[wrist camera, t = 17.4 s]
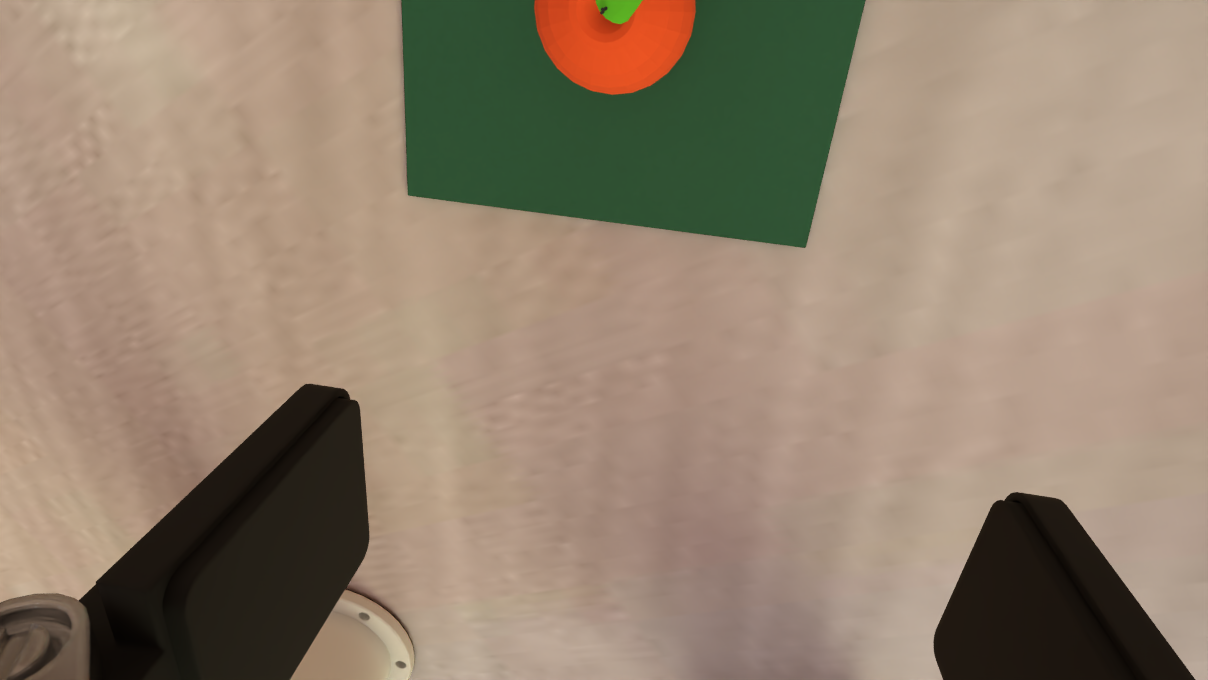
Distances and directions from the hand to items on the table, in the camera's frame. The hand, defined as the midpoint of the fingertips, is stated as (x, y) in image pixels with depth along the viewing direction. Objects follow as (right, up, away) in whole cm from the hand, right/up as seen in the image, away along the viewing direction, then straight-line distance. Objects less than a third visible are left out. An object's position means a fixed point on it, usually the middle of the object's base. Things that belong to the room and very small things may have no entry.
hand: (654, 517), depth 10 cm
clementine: (+1, +19, +22) cm, 29 cm away
